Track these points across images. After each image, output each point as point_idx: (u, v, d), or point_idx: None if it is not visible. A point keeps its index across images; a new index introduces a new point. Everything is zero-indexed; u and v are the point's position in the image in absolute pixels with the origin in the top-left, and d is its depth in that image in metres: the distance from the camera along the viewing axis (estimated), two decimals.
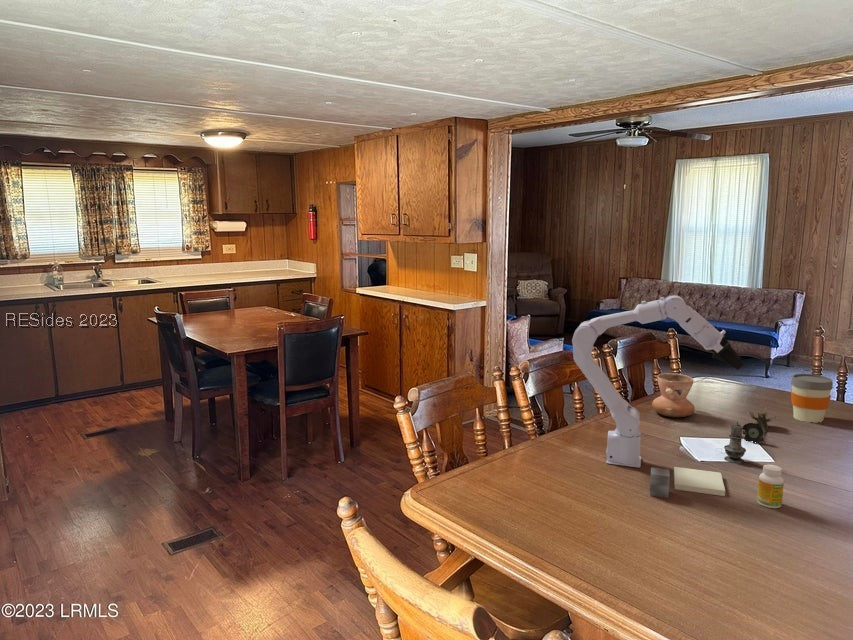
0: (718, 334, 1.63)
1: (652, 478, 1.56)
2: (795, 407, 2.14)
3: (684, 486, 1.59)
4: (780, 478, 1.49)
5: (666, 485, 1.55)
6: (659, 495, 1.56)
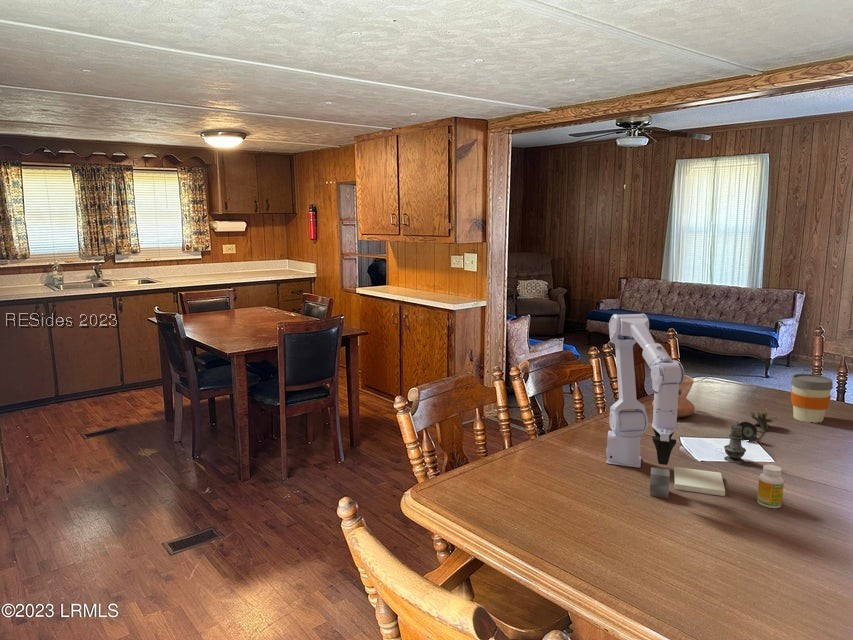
0: (674, 426, 1.52)
1: (652, 478, 1.56)
2: (795, 407, 2.14)
3: (684, 486, 1.59)
4: (780, 478, 1.49)
5: (666, 485, 1.55)
6: (659, 495, 1.56)
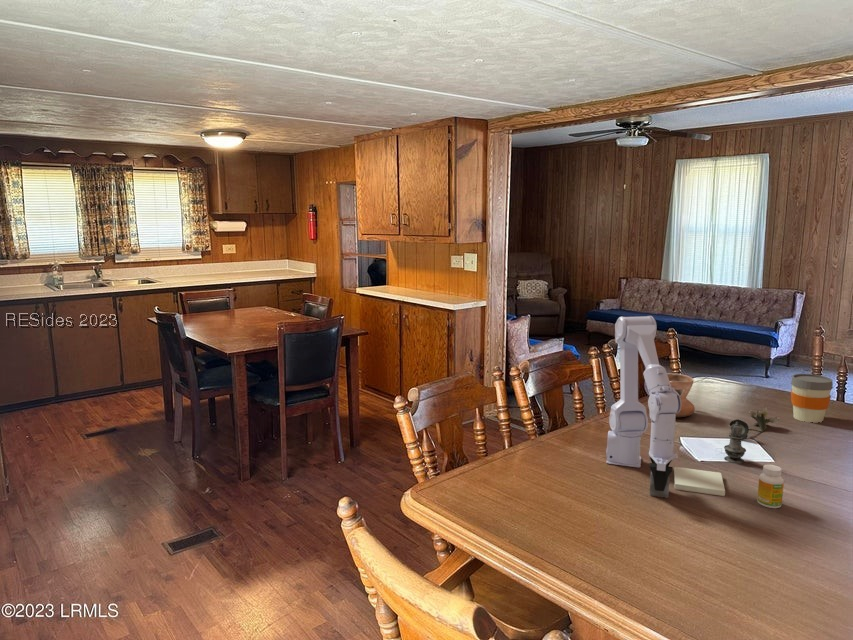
0: (671, 455, 1.54)
1: (652, 478, 1.56)
2: (795, 407, 2.14)
3: (684, 486, 1.59)
4: (780, 478, 1.49)
5: (666, 485, 1.55)
6: (659, 495, 1.56)
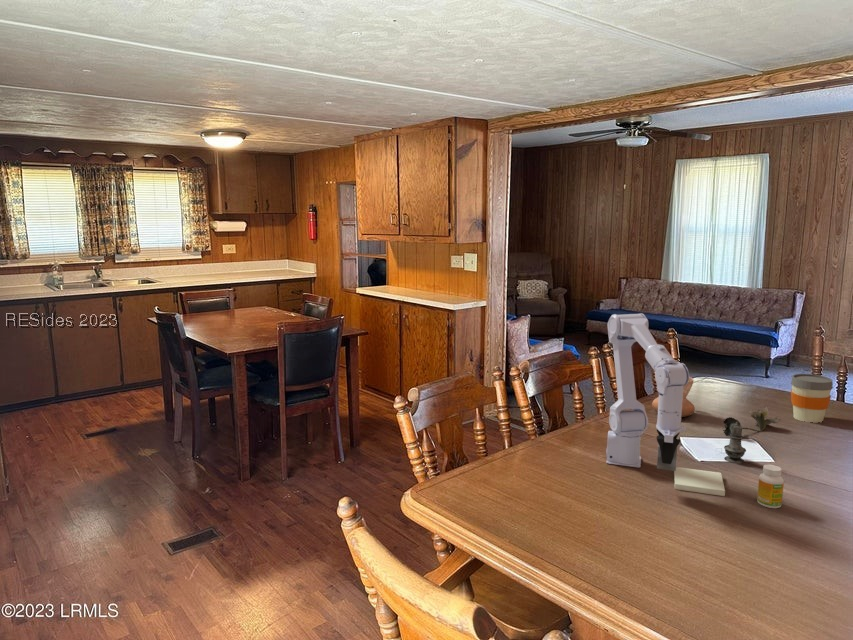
0: (678, 427, 1.53)
1: (659, 451, 1.55)
2: (795, 407, 2.14)
3: (684, 486, 1.59)
4: (780, 478, 1.49)
5: (673, 458, 1.54)
6: (666, 468, 1.55)
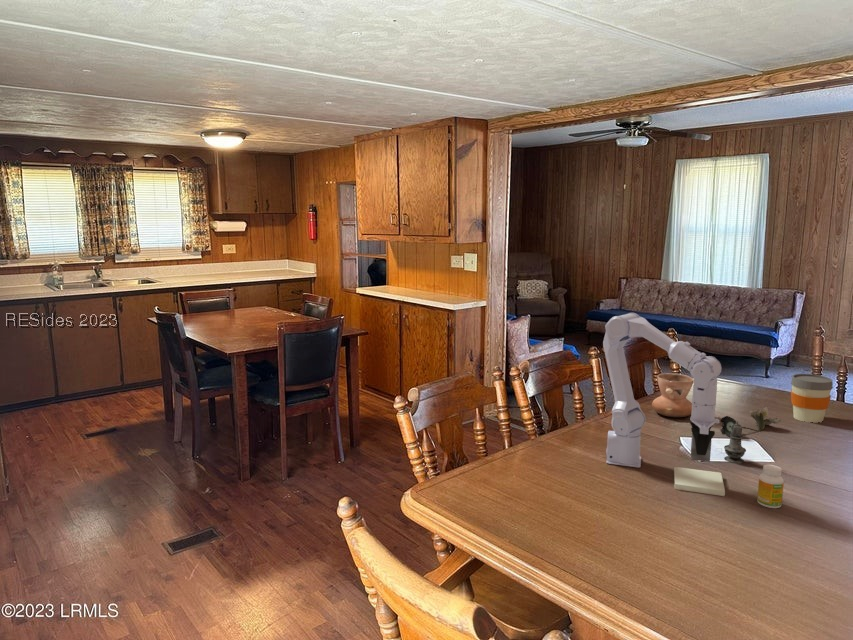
0: (712, 419, 1.58)
1: (694, 442, 1.60)
2: (795, 407, 2.14)
3: (684, 486, 1.59)
4: (780, 478, 1.49)
5: (708, 449, 1.59)
6: (701, 459, 1.60)
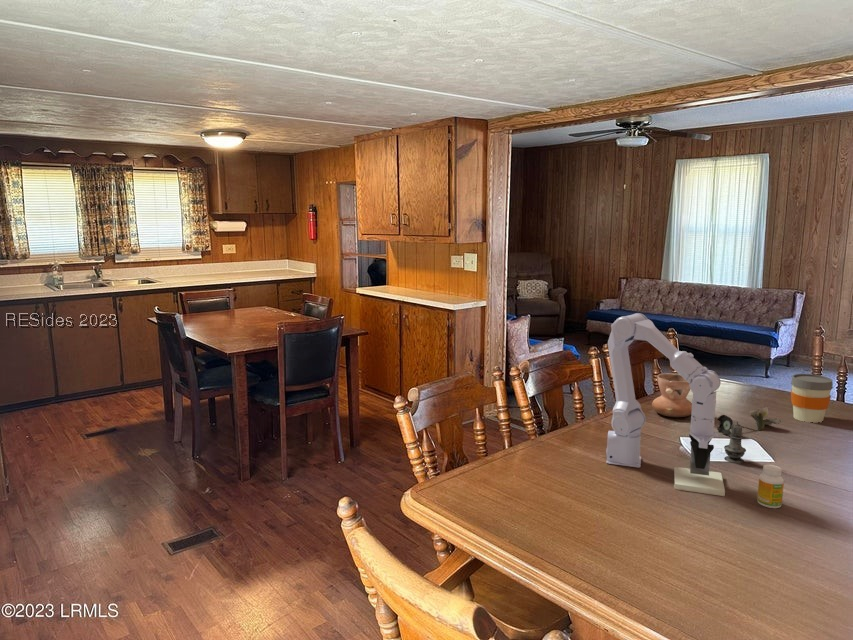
0: (711, 433, 1.59)
1: (693, 456, 1.61)
2: (795, 407, 2.14)
3: (684, 486, 1.59)
4: (780, 478, 1.49)
5: (707, 463, 1.60)
6: (700, 472, 1.61)
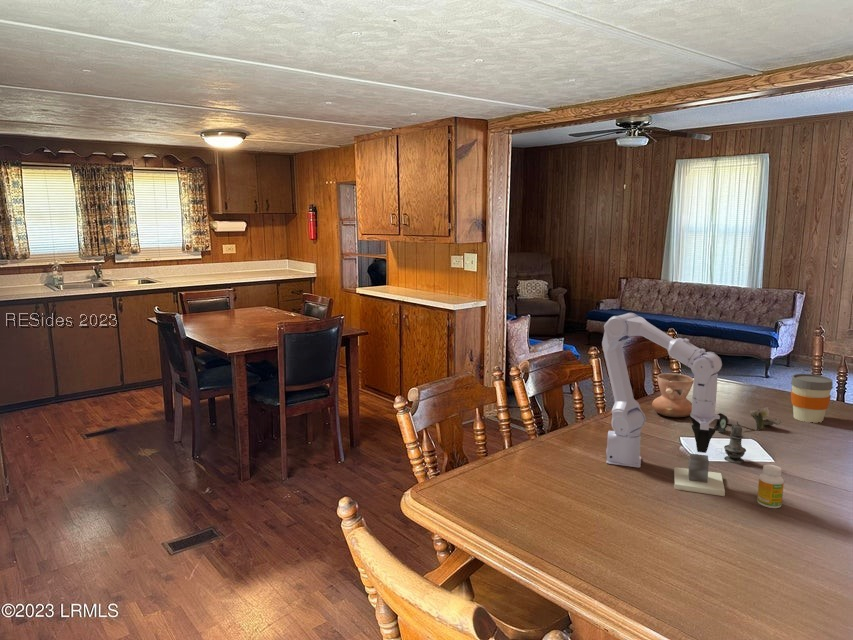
0: (713, 415, 1.58)
1: (691, 463, 1.61)
2: (795, 407, 2.14)
3: (684, 486, 1.59)
4: (780, 478, 1.49)
5: (705, 470, 1.60)
6: (698, 480, 1.61)
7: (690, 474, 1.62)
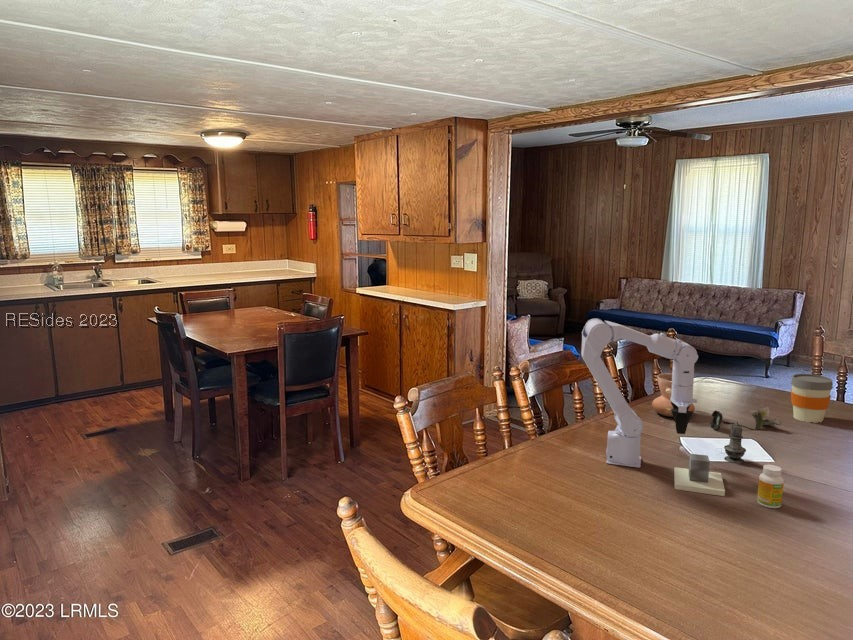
0: (690, 399, 1.72)
1: (692, 463, 1.61)
2: (795, 407, 2.14)
3: (684, 486, 1.59)
4: (780, 478, 1.49)
5: (706, 470, 1.60)
6: (699, 480, 1.61)
7: (691, 474, 1.62)
